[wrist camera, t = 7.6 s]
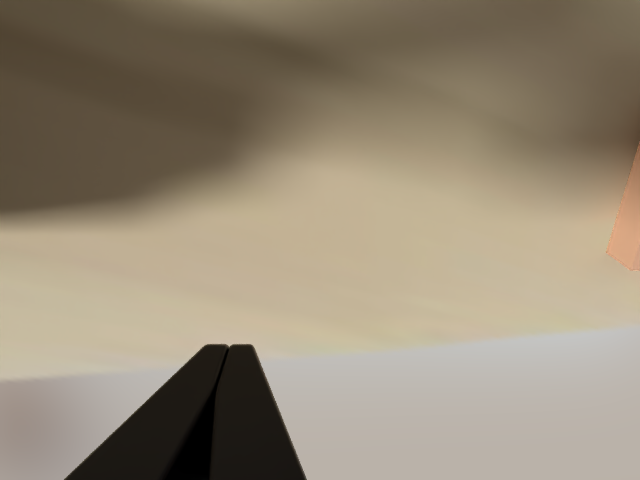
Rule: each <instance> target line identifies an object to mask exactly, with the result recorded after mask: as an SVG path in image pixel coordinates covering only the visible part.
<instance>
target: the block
mask: <svg viewBox="0 0 640 480" xmlns="http://www.w3.org/2000/svg"><path fill="white" fill-rule="evenodd" d="M606 253H607V254H609V255H610V256H611V257H613V258H614V259H616V260H617V261H618V262H620V263H621V264H622V265H624V266H625V267H626V268H628V269H629V270H631V271H633V270H640V142H639V145H638V149H637V152H636V155H635V158H634V162H633V165H632V168H631V172H630V175H629V178H628V181H627V185H626V188H625V191H624V194H623V198H622V201H621V204H620V208H619V211H618V214H617V217H616V221H615V224H614V227H613V230H612V234H611V237H610V240H609V243H608V247H607V250H606Z"/></svg>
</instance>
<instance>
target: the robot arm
mask: <svg viewBox="0 0 640 480" xmlns="http://www.w3.org/2000/svg"><path fill="white" fill-rule="evenodd" d="M64 480H307V479H306V476H305V474H304V471H303V469H302V466H301V464H300V461H299V459H298V456H297V454H296V451H295V449H294V446H293V444H292V441H291V439H290V436H289V434H288V431H287V429H286V426H285V424H284V422H283V419H282V416H281V413H280V411H279V408H278V406H277V403H276V401H275V398H274V396H273V394H272V391H271V388H270V386H269V383H268V381H267V378H266V376H265V373H264V371H263V368H262V366H261V363H260V361H259V358H258V356H257V353H256V351H255V348H254V347H253V345H251V344H233V345H231V346H230V347H229V346H228V345H226V344H207V345H205V346H204V347H202V348H201V349H200V350H199V351H198V352H197V353H196V354H195V355H194V356H193V357H192V358H191V359H190V360H189V361H188V362H187V363H186V364H185V365H184V366H183V367H181V368H180V369H179V370H178V371H177V372H176V373H175V374H174V375H173V376H172V377H171V378H170V379H169V380H168V381H167V382H166V383H165V384H164V385H163V386H162V387H161V388H159V389H158V390H157V391H156V392H155V393H154V394H153V395H152V396H151V397H150V398H149V399H148V400H147V401H146V402H145V403H144V404H143V405H142V406H141V407H140V408H138V409H137V410H136V411H135V412H134V413H133V414H132V415H131V416H130V417H129V418H128V419H127V420H126V421H125V422H124V423H123V424H122V425H121V426H120V427H119V428H118V429H116V430H115V432H113V433H112V434H111V435H110V436H109V437H108V438H107V439H106V440H105V441H104V442H103V443H102V444H101V445H100V446H99V447H98V448H97V449H96V450H94V451H93V452H92V453H91V454H90V455H89V456H88V457H87V458H86V459H85V460H84V461H83V462H82V463H81V464H80V465H79V466H78V467H77V468H76V469H75V470H74V471H72V472H71V473H70V474H69V475H68V476H67V477H66V478H65V479H64Z"/></svg>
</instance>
